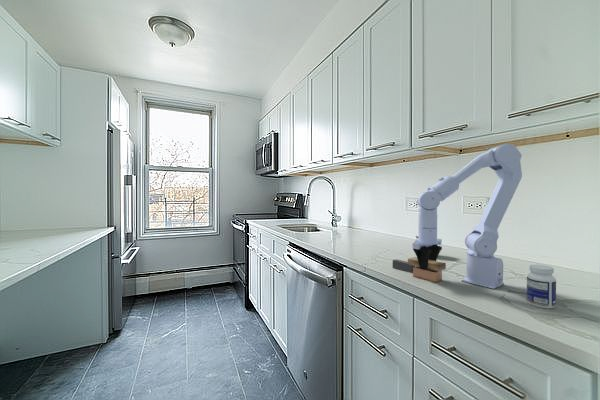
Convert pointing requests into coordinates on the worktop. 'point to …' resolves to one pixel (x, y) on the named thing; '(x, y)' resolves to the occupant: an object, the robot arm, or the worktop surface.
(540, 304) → the pill bottle
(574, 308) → the worktop surface
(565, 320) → the worktop surface
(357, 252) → the worktop surface
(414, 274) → the tan rectangular block
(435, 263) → the walnut sheet
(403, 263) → the rubber mat block
